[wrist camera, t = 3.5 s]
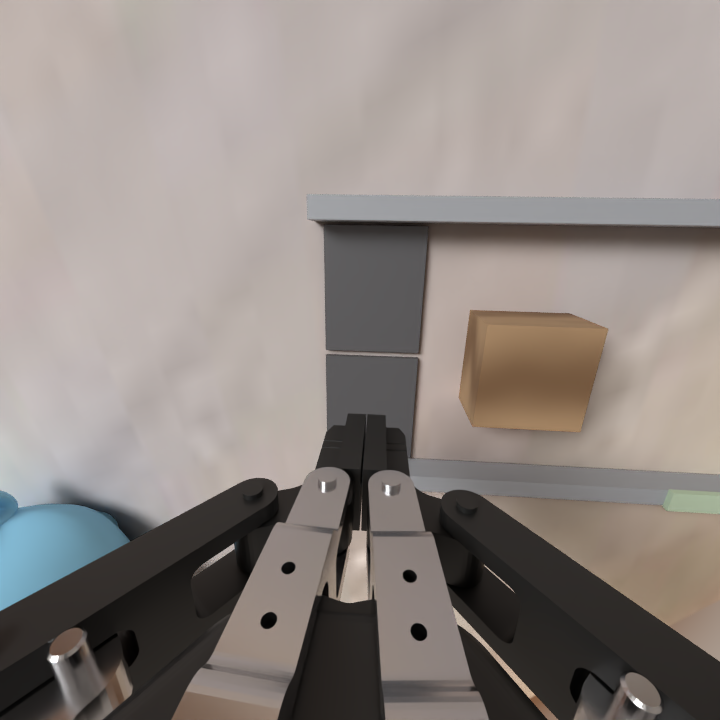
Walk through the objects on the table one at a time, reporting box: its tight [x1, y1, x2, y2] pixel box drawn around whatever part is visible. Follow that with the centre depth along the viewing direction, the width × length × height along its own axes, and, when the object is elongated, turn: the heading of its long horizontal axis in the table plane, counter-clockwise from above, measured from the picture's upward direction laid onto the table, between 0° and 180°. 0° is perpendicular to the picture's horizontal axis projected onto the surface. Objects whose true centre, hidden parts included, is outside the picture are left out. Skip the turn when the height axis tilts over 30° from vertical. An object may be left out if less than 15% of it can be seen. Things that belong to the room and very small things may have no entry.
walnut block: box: [459, 310, 608, 432], centre depth 20 cm, size 6×6×4 cm
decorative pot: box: [0, 491, 130, 611], centre depth 24 cm, size 16×16×14 cm
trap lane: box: [307, 194, 720, 514], centre depth 21 cm, size 19×34×2 cm, turn 89°
